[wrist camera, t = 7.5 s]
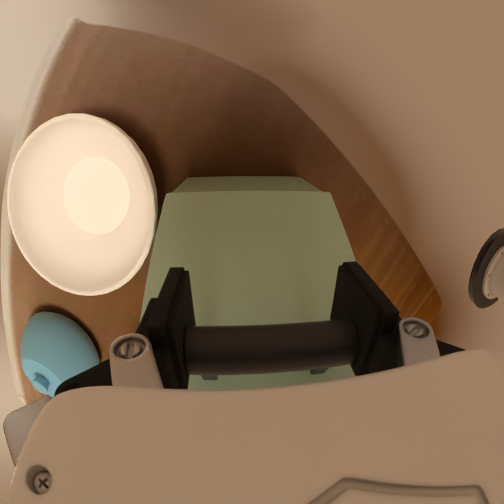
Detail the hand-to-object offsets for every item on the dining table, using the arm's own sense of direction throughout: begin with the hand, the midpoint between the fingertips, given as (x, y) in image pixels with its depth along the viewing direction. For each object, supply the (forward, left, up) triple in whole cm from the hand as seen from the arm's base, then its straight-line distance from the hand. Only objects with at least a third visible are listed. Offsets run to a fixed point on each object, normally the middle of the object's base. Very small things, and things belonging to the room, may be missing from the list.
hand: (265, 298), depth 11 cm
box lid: (0, +2, -4) cm, 5 cm away
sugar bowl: (+31, +23, -22) cm, 44 cm away
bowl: (+18, -1, -22) cm, 28 cm away
